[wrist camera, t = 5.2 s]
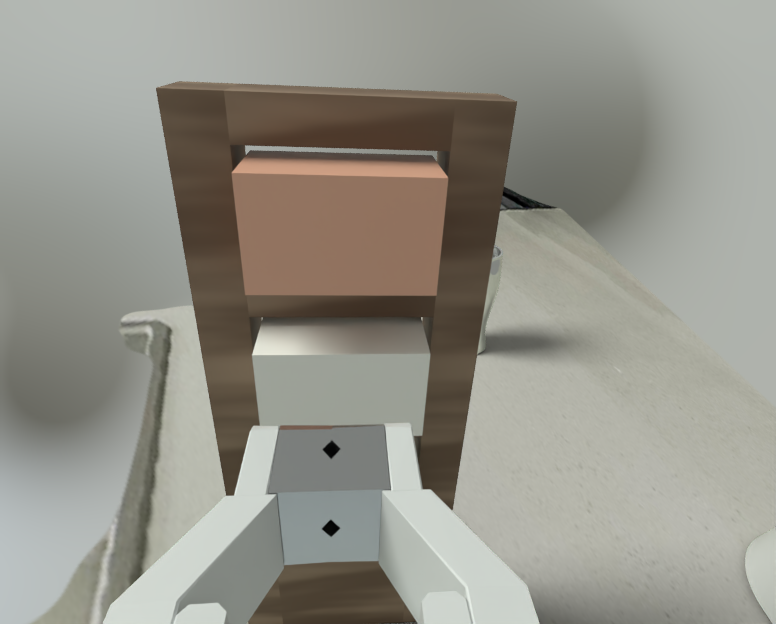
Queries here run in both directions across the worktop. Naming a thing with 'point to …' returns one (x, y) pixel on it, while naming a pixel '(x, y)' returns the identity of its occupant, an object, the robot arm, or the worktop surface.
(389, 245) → the terracotta key
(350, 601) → the key panel
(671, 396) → the worktop surface
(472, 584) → the robot arm
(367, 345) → the cream key
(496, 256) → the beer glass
